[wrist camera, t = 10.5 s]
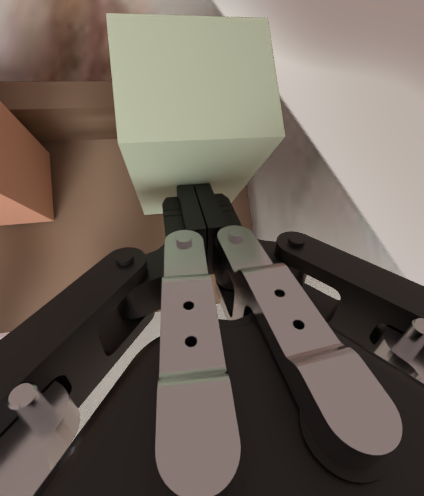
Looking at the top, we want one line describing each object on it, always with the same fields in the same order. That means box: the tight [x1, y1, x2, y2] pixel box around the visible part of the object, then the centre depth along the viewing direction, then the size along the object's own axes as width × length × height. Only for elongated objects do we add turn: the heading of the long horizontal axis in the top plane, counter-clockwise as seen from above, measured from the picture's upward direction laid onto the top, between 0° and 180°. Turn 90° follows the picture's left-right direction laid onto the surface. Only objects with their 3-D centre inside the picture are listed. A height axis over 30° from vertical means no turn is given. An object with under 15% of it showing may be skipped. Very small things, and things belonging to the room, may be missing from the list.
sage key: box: [106, 13, 285, 215], centre depth 13 cm, size 5×4×9 cm
